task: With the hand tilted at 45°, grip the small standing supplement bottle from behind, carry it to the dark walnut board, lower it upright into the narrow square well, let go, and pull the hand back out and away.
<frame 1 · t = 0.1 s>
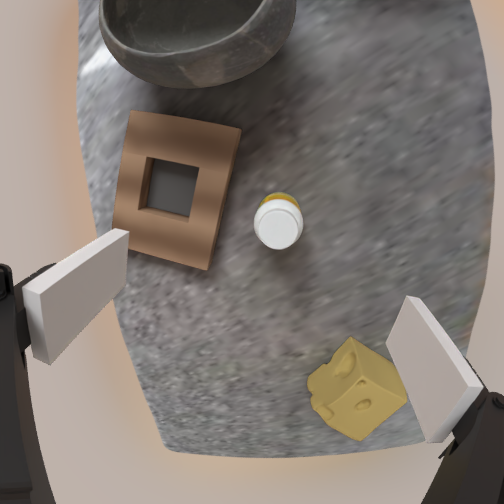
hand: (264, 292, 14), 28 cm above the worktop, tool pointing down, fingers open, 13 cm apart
well board: (174, 186, 41), on the worktop
cheese: (351, 368, 48), on the worktop
bowl: (214, 28, 34), on the worktop
supplement bottle: (279, 211, 41), on the worktop
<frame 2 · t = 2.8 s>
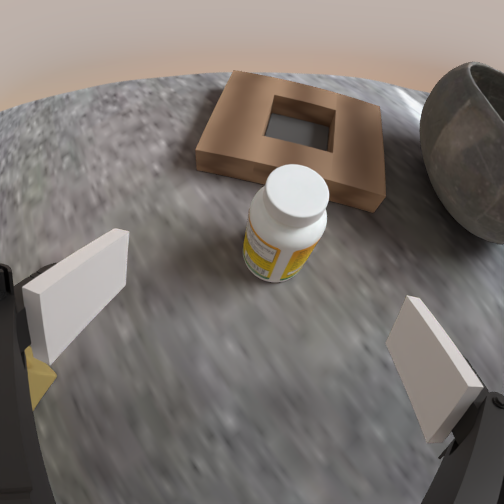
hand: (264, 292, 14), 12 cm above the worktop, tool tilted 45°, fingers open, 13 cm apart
well board: (296, 140, 34), on the worktop
cheese: (2, 378, 21), on the worktop
bowl: (462, 196, 34), on the worktop
supplement bottle: (273, 255, 28), on the worktop
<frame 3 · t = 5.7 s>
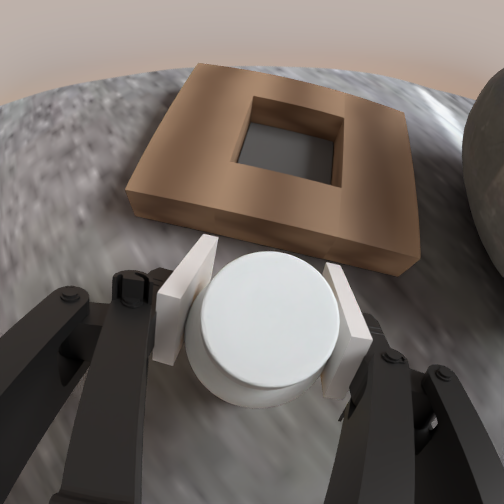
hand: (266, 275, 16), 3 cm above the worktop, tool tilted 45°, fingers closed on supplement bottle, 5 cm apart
well board: (286, 163, 24), on the worktop
supplement bottle: (245, 357, 18), on the worktop, touching gripper
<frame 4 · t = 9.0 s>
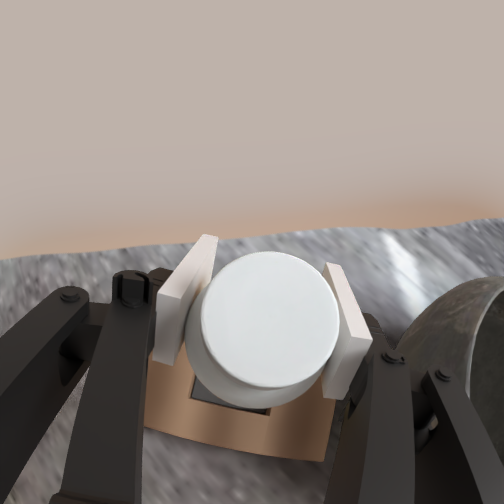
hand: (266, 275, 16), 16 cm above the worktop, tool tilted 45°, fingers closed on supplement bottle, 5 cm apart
well board: (235, 371, 29), on the worktop
bowl: (433, 398, 29), on the worktop
supplement bottle: (245, 357, 18), point 12 cm above the worktop, touching gripper
when the fingers open (5 cm above the worktop, at t = 12.2 s): supplement bottle drops 1 cm, resting on well board.
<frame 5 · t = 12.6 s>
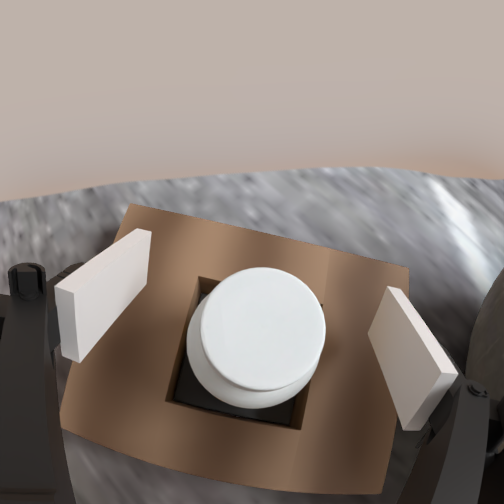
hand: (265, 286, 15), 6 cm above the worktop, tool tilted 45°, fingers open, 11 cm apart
well board: (243, 359, 19), on the worktop
bowl: (503, 389, 19), on the worktop
supplement bottle: (244, 360, 19), resting on well board
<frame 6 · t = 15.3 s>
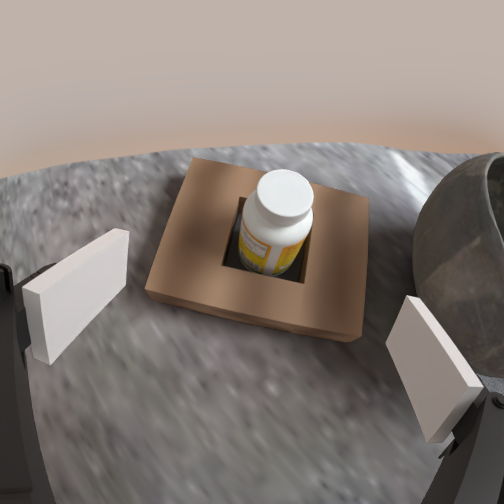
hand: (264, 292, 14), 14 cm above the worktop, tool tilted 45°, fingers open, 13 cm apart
well board: (265, 252, 31), on the worktop
bowl: (455, 296, 31), on the worktop
supplement bottle: (266, 252, 31), resting on well board
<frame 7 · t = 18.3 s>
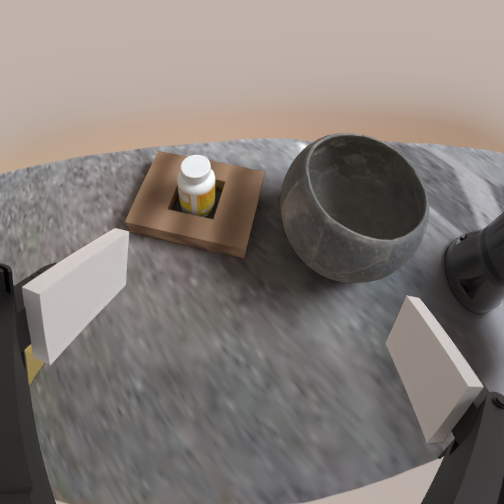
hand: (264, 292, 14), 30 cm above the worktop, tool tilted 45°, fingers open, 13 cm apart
well board: (197, 205, 50), on the worktop
cheese: (15, 360, 37), on the worktop
bowl: (334, 238, 51), on the worktop
supplement bottle: (198, 205, 50), resting on well board
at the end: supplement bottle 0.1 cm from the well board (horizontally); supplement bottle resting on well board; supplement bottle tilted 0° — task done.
